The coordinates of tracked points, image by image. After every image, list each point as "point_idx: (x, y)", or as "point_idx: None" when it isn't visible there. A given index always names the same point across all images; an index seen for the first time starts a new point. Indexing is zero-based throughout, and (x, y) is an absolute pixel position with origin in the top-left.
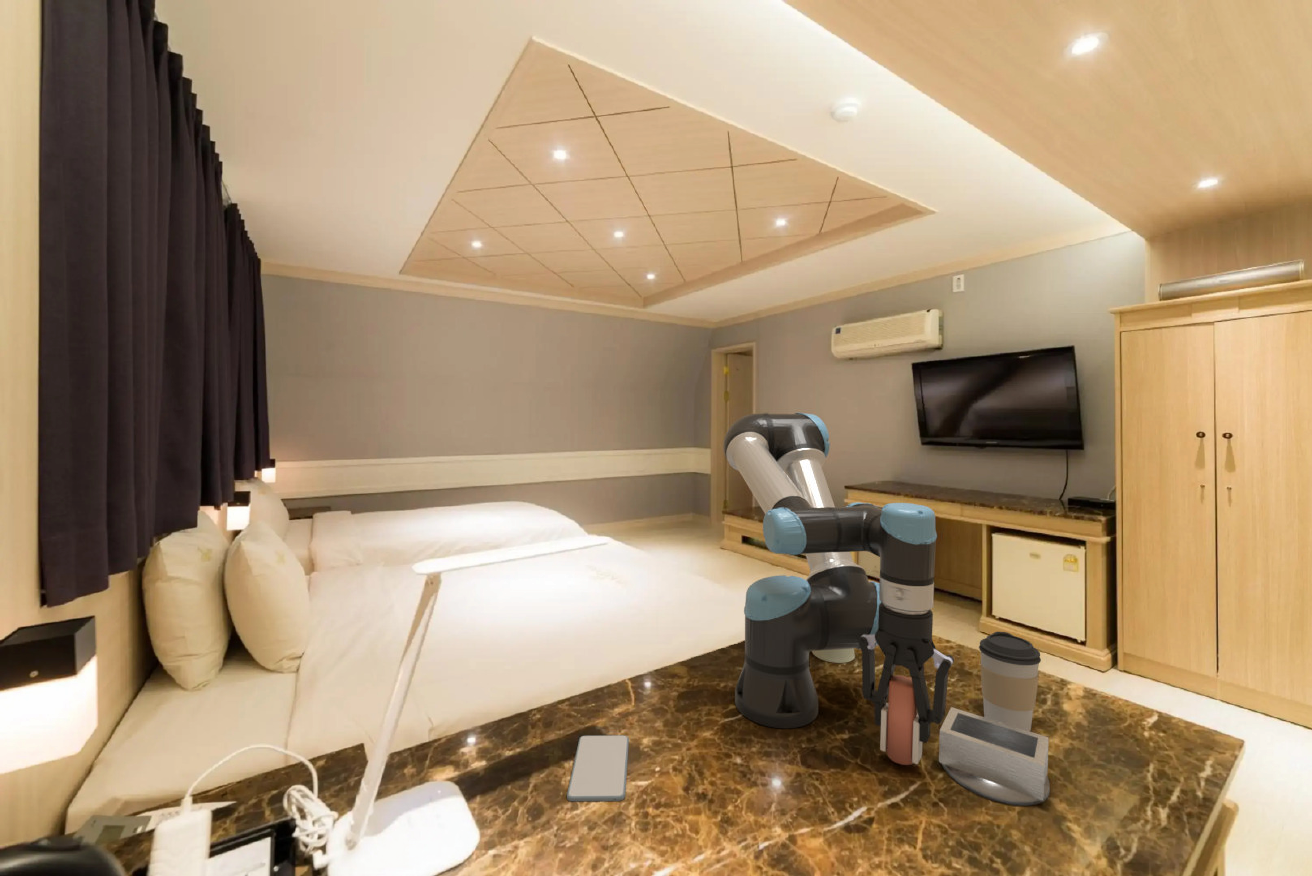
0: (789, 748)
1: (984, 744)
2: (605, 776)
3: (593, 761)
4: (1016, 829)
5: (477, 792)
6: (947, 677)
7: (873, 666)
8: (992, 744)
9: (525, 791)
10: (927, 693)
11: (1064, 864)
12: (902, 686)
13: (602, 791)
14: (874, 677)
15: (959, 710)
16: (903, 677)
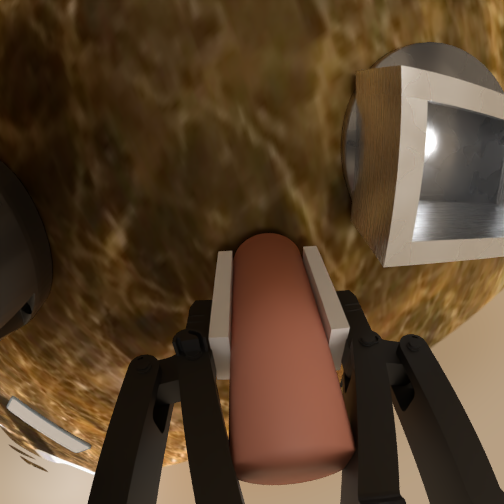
0: (91, 338)
1: (479, 253)
2: (63, 438)
3: (42, 428)
4: (452, 289)
5: (51, 452)
6: (486, 468)
7: (140, 482)
8: (493, 239)
9: (58, 449)
10: (391, 409)
11: (481, 307)
12: (300, 480)
13: (79, 447)
14: (146, 425)
15: (429, 78)
16: (285, 455)
